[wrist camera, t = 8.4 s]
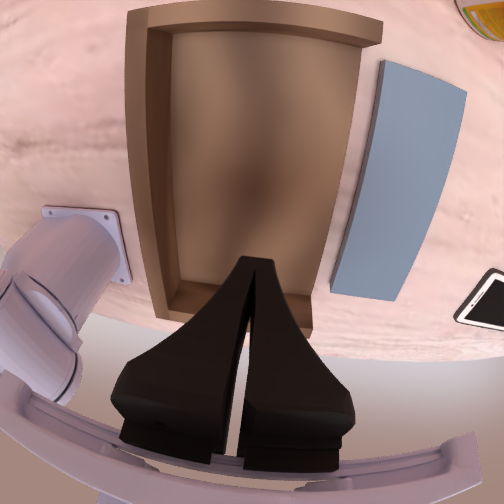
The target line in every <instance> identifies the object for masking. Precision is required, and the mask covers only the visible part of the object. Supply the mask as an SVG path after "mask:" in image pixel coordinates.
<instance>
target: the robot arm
mask: <svg viewBox="0 0 504 504" xmlns="http://www.w3.org/2000/svg"><path fill="white" fill-rule="evenodd" d="M41 213H42V216H43V218H42V219H41V220H40V221H38V222H37V223H36V224H35V225H34V226H33V227H32V228H31V229H30V230H29V231H28V232H27V233H25V234H24V235H23V236H22V237H21V238H20V239H19V240H18V241H17V242H16V243H15V244H14V245H13V246H12V247H11V248H10V250H9V251H8V252H7V254H6V256H5V258H4V260H3V263H2V267H1V269H0V431H1V430H2V431H4V432H5V433H6V434H8V435H9V436H10V437H11V438H13V439H14V440H16V441H17V442H18V443H19V444H21V445H22V446H24V447H25V448H26V449H27V450H29V451H30V452H32V453H33V454H35V455H36V456H38V457H39V458H41V459H42V460H44V461H46V462H47V463H48V464H50V465H52V466H53V467H55V468H57V469H58V470H60V471H62V472H63V473H65V474H67V475H69V476H70V477H72V478H74V479H76V480H78V481H80V482H82V483H84V484H86V485H88V486H90V487H92V488H94V489H96V490H98V491H99V494H98V498H97V502H96V504H434V503H436V502H438V501H441V500H444V499H446V498H449V497H451V496H453V495H456V494H459V493H461V492H463V491H465V490H468V489H470V488H472V487H474V486H476V485H478V484H481V483H482V474H481V466H480V459H479V453H478V447H477V441H476V437H475V432H470V433H466V434H463V435H460V436H457V437H454V438H451V439H449V440H447V441H445V442H444V443H442V444H441V445H440V446H436V447H431V448H428V449H423V450H418V451H413V452H408V453H402V454H396V455H390V456H383V457H375V458H366V459H356V460H341V461H339V449H341V447H342V436H343V435H345V434H346V433H347V432H348V431H349V430H350V429H351V428H352V427H353V426H354V425H355V411H354V406H353V402H352V398H351V395H350V392H349V391H348V390H347V389H346V388H345V387H344V386H343V385H342V384H341V383H340V382H339V381H338V379H336V377H335V376H334V375H333V374H332V373H331V372H330V370H329V369H328V368H327V367H326V366H325V364H324V363H323V362H322V360H321V359H320V358H319V356H318V355H317V354H316V352H315V351H314V350H313V348H312V347H311V345H310V344H309V342H308V341H307V339H306V338H305V336H304V334H303V333H302V331H301V329H300V328H299V326H298V324H297V322H296V320H295V318H294V316H293V314H292V312H291V310H290V308H289V306H288V304H287V301H286V299H285V296H284V294H283V291H282V288H281V286H280V283H279V279H278V276H277V272H276V267H275V261H274V260H273V259H268V258H260V257H251V256H243V255H242V256H241V257H239V259H238V261H237V263H236V265H235V266H234V268H233V270H232V271H231V273H230V274H229V276H228V277H227V278H226V280H225V281H224V282H223V284H222V285H221V286H220V288H219V289H218V290H217V291H216V293H215V294H214V295H213V296H212V297H211V298H210V300H209V301H208V302H207V303H206V304H205V305H204V306H203V307H202V308H201V309H200V310H199V311H198V312H197V313H196V314H195V315H194V316H193V317H192V318H191V319H190V320H189V321H187V322H186V323H185V324H184V325H183V326H182V327H180V328H179V329H178V330H177V331H176V332H174V333H173V334H172V335H170V336H169V337H167V338H166V339H164V340H163V341H162V342H160V343H159V344H157V345H156V346H154V347H153V348H151V349H150V350H148V351H146V352H145V353H143V354H141V355H139V356H137V357H136V358H134V359H132V360H130V361H129V362H127V364H126V366H125V367H124V369H123V370H122V372H121V374H120V376H119V377H118V379H117V382H116V384H115V387H114V389H113V392H112V395H111V402H112V404H113V405H114V407H115V408H116V409H117V410H118V412H119V413H120V414H121V415H122V416H123V417H124V418H125V420H124V423H123V426H122V429H121V430H120V429H116V428H114V427H111V426H108V425H106V424H103V423H101V422H98V421H95V420H93V419H90V418H88V417H86V416H83V415H81V414H79V413H77V412H74V411H72V410H70V409H68V408H66V407H64V406H65V405H66V404H67V403H68V402H69V401H70V399H72V397H73V396H74V394H75V393H76V391H77V389H78V387H79V384H80V381H81V377H82V370H83V362H82V358H81V356H80V354H79V353H78V350H79V348H80V346H81V344H82V340H81V339H80V338H79V337H78V332H79V331H80V329H81V328H82V326H83V324H84V322H85V321H86V319H87V317H88V316H89V314H90V312H91V311H92V309H93V307H94V306H95V304H96V303H97V301H98V299H99V298H100V296H101V294H102V293H103V291H104V290H105V288H106V287H107V285H108V284H109V282H110V281H111V282H116V283H121V284H126V285H129V284H131V282H132V278H131V274H130V270H129V266H128V262H127V258H126V253H125V249H124V244H123V239H122V235H121V230H120V225H119V219H118V215H117V213H116V212H114V211H109V210H96V209H81V208H65V207H48V206H44V207H43V208H42V209H41ZM106 215H107V216H108V217H109V218H108V217H107V216H106ZM249 319H250V346H249V367H248V375H247V382H246V389H245V397H244V404H243V412H242V420H241V427H240V434H239V441H238V448H237V456H236V457H234V456H227V455H224V454H225V452H226V444H227V437H228V430H229V423H230V417H231V409H232V403H233V396H234V389H235V382H236V376H237V369H238V364H239V359H240V355H241V351H242V347H243V343H244V339H245V335H246V331H247V327H248V323H249ZM117 448H118V449H117ZM119 449H121V450H124V451H127V452H130V453H133V454H136V455H139V456H142V457H145V458H148V459H152V460H155V461H159V462H163V463H166V464H170V465H174V466H179V467H184V468H188V469H193V470H197V471H203V472H208V473H214V474H221V475H227V476H234V477H243V478H253V479H266V480H285V481H287V480H288V481H318V480H327V481H319V482H308V483H307V484H305V486H304V487H300V488H296V489H294V491H280V490H267V489H256V488H246V487H238V486H230V485H223V484H216V483H211V482H204V481H198V480H194V479H189V478H184V477H179V476H174V475H170V474H165V473H162V472H160V471H159V470H158V469H157V468H154V467H152V466H150V465H149V464H147V463H146V462H145V461H144V459H141V458H138V457H136V456H133V455H131V454H128V453H126V452H124V451H121V450H119Z"/></svg>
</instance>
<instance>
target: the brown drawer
mask: <svg viewBox="0 0 504 504" xmlns="http://www.w3.org/2000/svg"><path fill="white" fill-rule="evenodd" d="M382 32H383V22H382V21H379V20H376V19H372V18H369V17H365V16H362V15H358V14H354V13H350V12H345V11H341V10H336V9H331V8H326V7H320V6H314V5H308V4H300V3H292V2H283V1H271V0H200V1H188V2H179V3H171V4H163V5H157V6H151V7H145V8H140V9H135V10H131V11H128V13H127V25H126V42H125V116H126V134H127V148H128V159H129V170H130V179H131V187H132V195H133V203H134V210H135V216H136V223H137V229H138V235H139V241H140V246H141V252H142V257H143V262H144V267H145V272H146V277H147V281H148V286H149V290H150V295H151V299H152V303H153V307H154V311H155V315H156V318H160V319H166V320H171V321H177V322H182V323H186V322H187V321H189V320H190V319H191V318H192V317H193V316H194V315H195V314H196V313H197V312H198V311H199V310H200V309H201V308H202V307H203V306H204V305H205V304H206V303H207V302H208V301H209V300H210V298H211V297H212V296H213V295H214V294H215V293H216V291H217V290H218V289H219V288H220V286H221V285H222V284H223V282H224V281H225V280H226V278H227V277H228V276H229V274H230V273H231V271H232V270H233V268H234V266H235V265H236V263H237V261H238V259H239V257H241V256H242V255H243V256H251V257H260V258H268V259H273V260H274V261H275V267H276V272H277V276H278V279H279V283H280V286H281V288H282V291H283V294H284V296H285V299H286V301H287V304H288V306H289V308H290V310H291V312H292V314H293V316H294V318H295V320H296V322H297V324H298V326H299V328H300V329H301V331H302V333H303V334H304V336H305V338H307V339H309V338H310V336H311V333H312V330H313V321H312V305H311V294H312V290H313V287H314V283H315V280H316V276H317V273H318V269H319V265H320V262H321V258H322V254H323V250H324V247H325V243H326V239H327V235H328V231H329V227H330V223H331V219H332V214H333V210H334V206H335V202H336V197H337V193H338V188H339V184H340V179H341V174H342V170H343V165H344V160H345V155H346V149H347V144H348V139H349V133H350V128H351V122H352V116H353V110H354V104H355V97H356V91H357V84H358V76H359V69H360V61H361V52H362V48H365V47H369V46H373V45H377V44H381V43H382ZM246 332H249V333H250V319H249V323H248V327H247V331H246Z"/></svg>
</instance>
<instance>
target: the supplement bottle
mask: <svg viewBox="0 0 504 504" xmlns="http://www.w3.org/2000/svg"><path fill="white" fill-rule="evenodd" d="M456 3H457V6H458V8H459V10H460V12H461V14H462V16H463V17H464V19H465V20H466V21H467V23H468V24H469V25H470V26H471V27H472V28H473V29H474V30H475V31H476V32H477V33H478V34H479V35H481V36H482V37H484V38H486V39H489V40H492V41H502V42H504V0H456Z"/></svg>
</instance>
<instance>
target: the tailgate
mask: <svg viewBox="0 0 504 504" xmlns="http://www.w3.org/2000/svg"><path fill="white" fill-rule="evenodd" d="M466 96H467V92H466V91H464V90H462V89H460V88H458V87H456V86H453V85H451V84H449V83H447V82H444V81H442V80H440V79H437V78H435V77H432V76H430V75H427V74H425V73H422V72H419V71H417V70H414V69H411V68H408V67H405V66H402V65H399V64H396V63H393V62H390V61H386V60H385V61H381V63H380V70H379V78H378V85H377V91H376V98H375V104H374V109H373V115H372V121H371V126H370V131H369V136H368V141H367V146H366V151H365V156H364V160H363V165H362V169H361V173H360V178H359V182H358V186H357V190H356V194H355V198H354V202H353V206H352V210H351V213H350V217H349V221H348V224H347V228H346V232H345V235H344V239H343V242H342V245H341V249H340V252H339V255H338V259H337V262H336V265H335V268H334V272H333V275H332V278H331V281H330V293H336V294H343V295H350V296H357V297H364V298H371V299H379V300H386V301H395V299H396V297H397V296H398V294H399V292H400V290H401V288H402V286H403V284H404V282H405V280H406V278H407V276H408V274H409V272H410V269H411V267H412V265H413V263H414V261H415V259H416V256H417V254H418V252H419V250H420V247H421V245H422V243H423V240H424V238H425V236H426V233H427V231H428V228H429V226H430V223H431V221H432V218H433V215H434V213H435V210H436V207H437V205H438V202H439V199H440V196H441V193H442V190H443V187H444V184H445V181H446V178H447V175H448V172H449V168H450V165H451V161H452V158H453V154H454V151H455V147H456V143H457V139H458V135H459V131H460V126H461V122H462V117H463V112H464V107H465V101H466Z"/></svg>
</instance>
